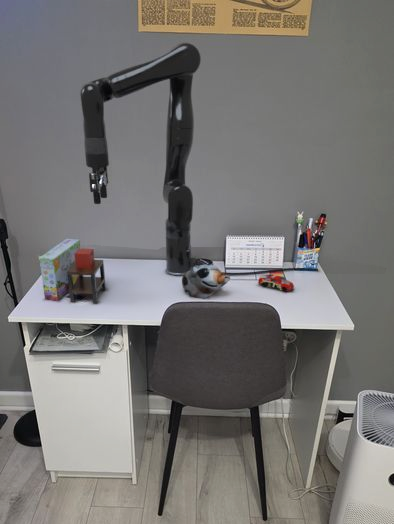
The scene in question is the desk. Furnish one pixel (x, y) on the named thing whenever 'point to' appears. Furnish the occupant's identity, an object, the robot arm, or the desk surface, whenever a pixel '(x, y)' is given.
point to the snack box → (58, 268)
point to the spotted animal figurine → (203, 281)
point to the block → (84, 258)
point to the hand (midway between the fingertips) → (100, 200)
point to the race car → (275, 282)
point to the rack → (86, 280)
